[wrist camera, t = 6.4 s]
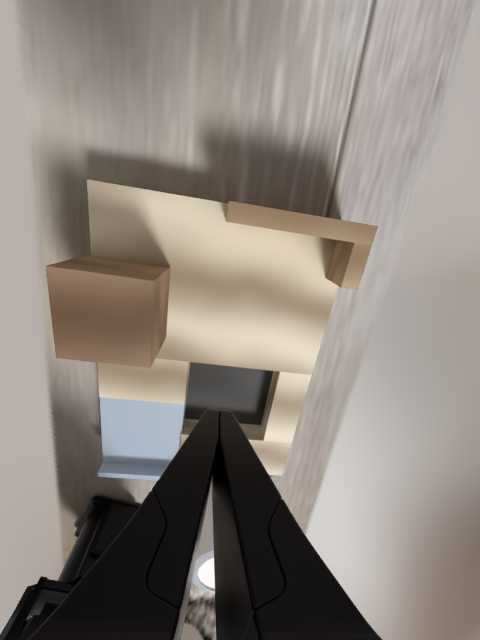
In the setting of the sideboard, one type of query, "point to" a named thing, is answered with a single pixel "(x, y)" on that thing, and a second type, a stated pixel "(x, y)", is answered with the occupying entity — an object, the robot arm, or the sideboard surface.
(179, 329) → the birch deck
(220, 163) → the sideboard surface
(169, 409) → the strip
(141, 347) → the walnut block
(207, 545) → the white cylinder
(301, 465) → the sideboard surface
